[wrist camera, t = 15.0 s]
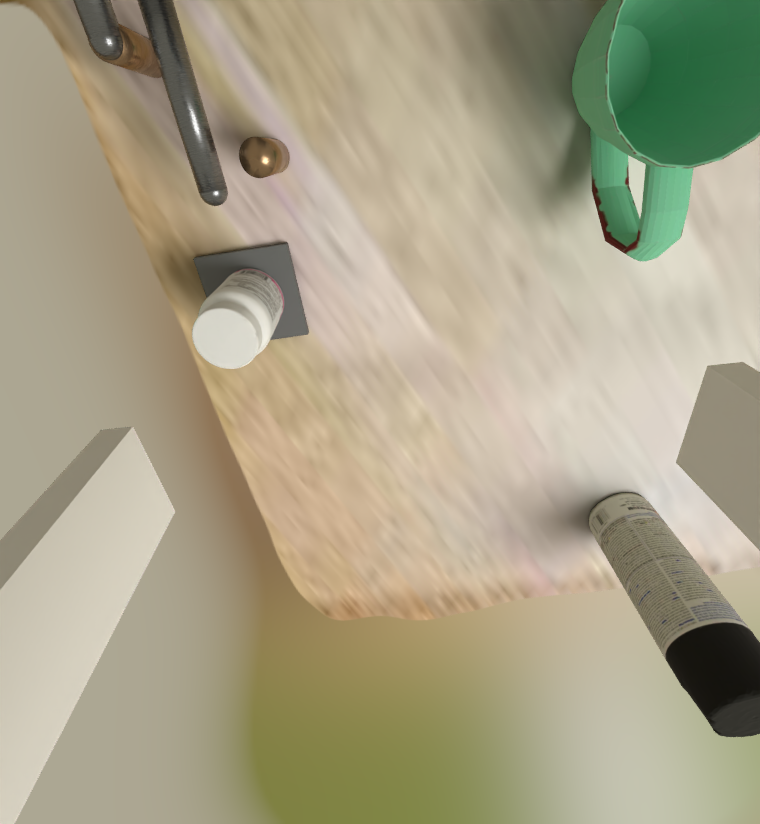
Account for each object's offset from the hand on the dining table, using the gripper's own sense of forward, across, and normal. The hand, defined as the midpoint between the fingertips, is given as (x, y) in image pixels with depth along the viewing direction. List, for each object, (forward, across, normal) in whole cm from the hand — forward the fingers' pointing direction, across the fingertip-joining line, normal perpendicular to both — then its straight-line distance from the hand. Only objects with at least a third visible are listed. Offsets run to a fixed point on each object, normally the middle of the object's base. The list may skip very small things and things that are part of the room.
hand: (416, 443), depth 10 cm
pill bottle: (+25, -10, -3) cm, 27 cm away
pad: (+26, -10, -3) cm, 28 cm away
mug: (+26, +15, +6) cm, 31 cm away
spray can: (+26, +22, -31) cm, 46 cm away
